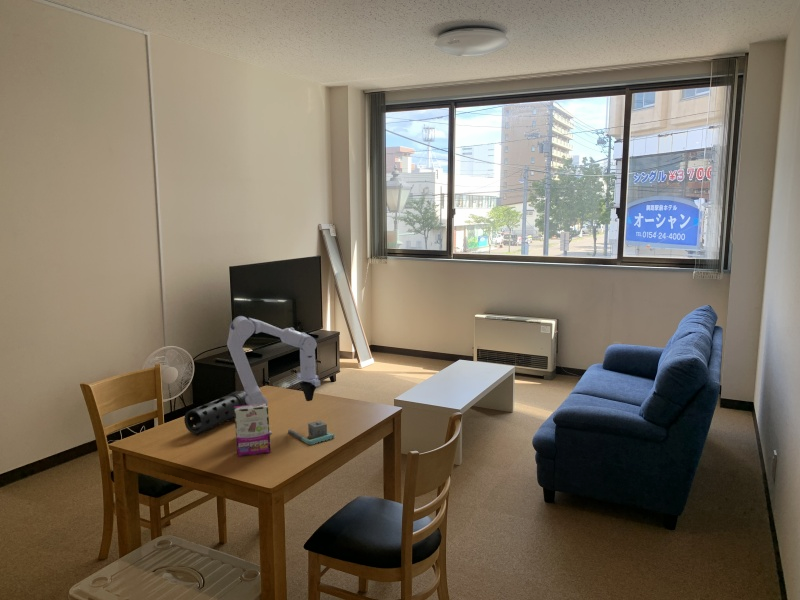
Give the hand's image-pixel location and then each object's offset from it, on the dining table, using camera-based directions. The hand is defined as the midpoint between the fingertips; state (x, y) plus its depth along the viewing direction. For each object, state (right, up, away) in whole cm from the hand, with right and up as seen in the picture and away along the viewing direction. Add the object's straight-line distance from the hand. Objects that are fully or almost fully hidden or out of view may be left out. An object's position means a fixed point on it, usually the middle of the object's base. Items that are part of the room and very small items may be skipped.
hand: (309, 400), depth 230 cm
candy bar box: (-15, -14, -26) cm, 33 cm away
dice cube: (+5, -12, -12) cm, 17 cm away
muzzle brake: (-35, -10, +2) cm, 36 cm away
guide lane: (+2, -11, -11) cm, 16 cm away
